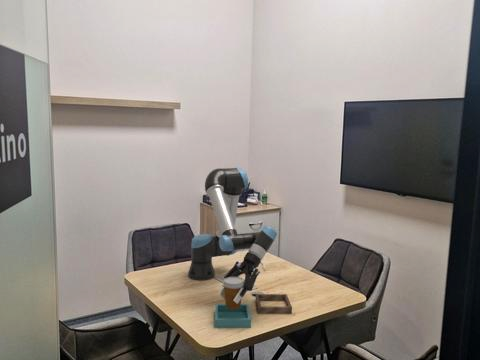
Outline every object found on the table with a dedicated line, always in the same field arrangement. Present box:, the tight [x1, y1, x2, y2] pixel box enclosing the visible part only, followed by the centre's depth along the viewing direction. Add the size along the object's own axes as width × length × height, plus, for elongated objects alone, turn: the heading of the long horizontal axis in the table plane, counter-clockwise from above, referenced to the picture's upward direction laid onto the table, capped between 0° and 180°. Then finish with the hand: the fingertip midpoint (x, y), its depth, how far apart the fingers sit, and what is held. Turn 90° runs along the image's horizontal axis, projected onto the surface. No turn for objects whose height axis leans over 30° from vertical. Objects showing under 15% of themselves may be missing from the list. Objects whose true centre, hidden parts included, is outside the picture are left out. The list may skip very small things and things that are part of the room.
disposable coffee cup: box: [222, 276, 244, 309], centre depth 182 cm, size 10×10×12 cm
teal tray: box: [214, 303, 252, 329], centre depth 184 cm, size 15×15×4 cm
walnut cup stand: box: [255, 293, 293, 315], centre depth 198 cm, size 15×15×3 cm
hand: (228, 298), depth 180 cm, fingers closed on disposable coffee cup, 9 cm apart
